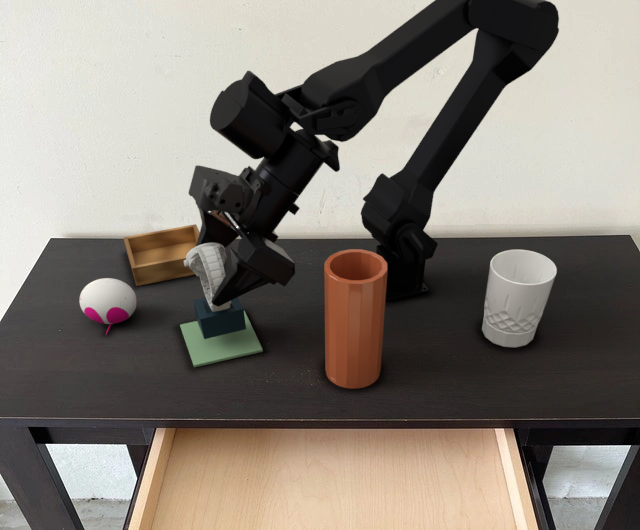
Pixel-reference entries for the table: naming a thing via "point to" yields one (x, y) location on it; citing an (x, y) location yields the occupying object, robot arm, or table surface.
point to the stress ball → (108, 301)
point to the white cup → (516, 296)
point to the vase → (354, 317)
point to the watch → (213, 292)
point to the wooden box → (161, 254)
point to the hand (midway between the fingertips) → (203, 286)
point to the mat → (219, 344)
